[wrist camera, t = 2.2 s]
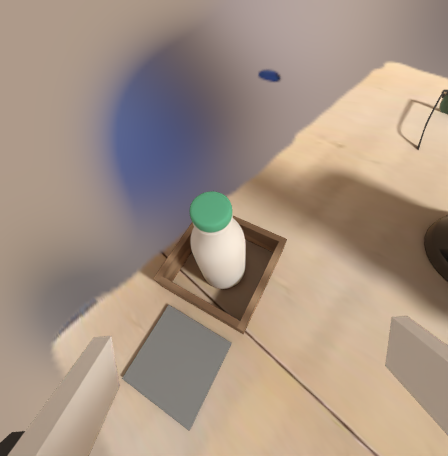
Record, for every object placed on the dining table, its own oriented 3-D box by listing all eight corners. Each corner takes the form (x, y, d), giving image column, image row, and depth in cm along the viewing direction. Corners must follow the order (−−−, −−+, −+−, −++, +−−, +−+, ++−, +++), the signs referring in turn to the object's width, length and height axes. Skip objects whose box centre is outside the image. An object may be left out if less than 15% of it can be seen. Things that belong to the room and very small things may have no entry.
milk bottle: (253, 265, 42) (261, 201, 25) (226, 299, 40) (213, 255, 22) (221, 241, 45) (207, 168, 27) (193, 271, 42) (159, 213, 25)
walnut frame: (208, 217, 48) (205, 203, 43) (282, 250, 43) (287, 239, 39) (162, 286, 41) (153, 278, 37) (243, 334, 37) (243, 331, 32)
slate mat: (169, 305, 40) (168, 304, 39) (231, 343, 36) (231, 343, 36) (123, 378, 35) (122, 378, 35) (190, 429, 32) (189, 430, 31)
